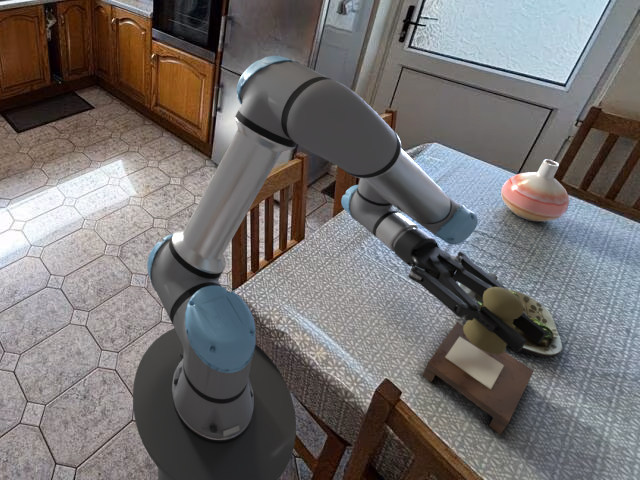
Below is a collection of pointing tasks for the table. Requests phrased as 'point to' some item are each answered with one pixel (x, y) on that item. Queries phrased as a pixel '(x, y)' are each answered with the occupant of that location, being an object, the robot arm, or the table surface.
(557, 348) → the salad plate
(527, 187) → the vase
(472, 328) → the cork
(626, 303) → the table surface
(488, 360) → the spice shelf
